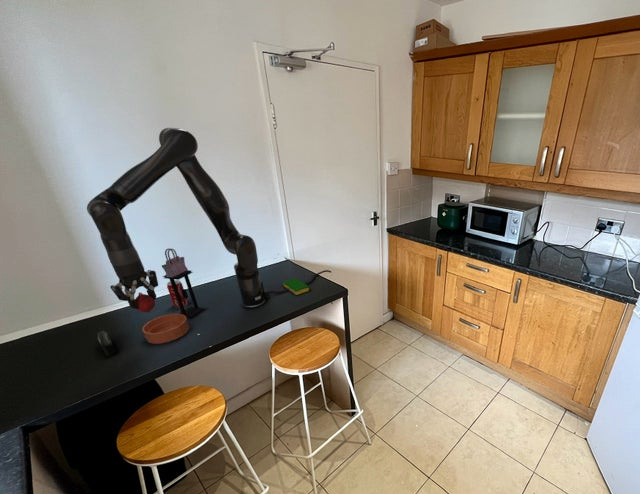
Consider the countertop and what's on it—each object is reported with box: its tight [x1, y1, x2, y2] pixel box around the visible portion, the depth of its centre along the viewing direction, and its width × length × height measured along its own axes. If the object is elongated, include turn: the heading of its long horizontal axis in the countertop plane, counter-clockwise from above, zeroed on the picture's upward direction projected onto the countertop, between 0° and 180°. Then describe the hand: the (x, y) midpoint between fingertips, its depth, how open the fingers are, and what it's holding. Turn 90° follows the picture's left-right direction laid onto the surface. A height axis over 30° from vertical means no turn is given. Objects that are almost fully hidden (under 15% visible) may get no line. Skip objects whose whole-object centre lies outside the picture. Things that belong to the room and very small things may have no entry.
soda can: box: [166, 279, 189, 309], centre depth 141 cm, size 6×6×12 cm
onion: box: [134, 292, 156, 313], centre depth 111 cm, size 6×6×8 cm
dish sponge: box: [282, 277, 310, 296], centre depth 159 cm, size 7×14×2 cm, turn 44°
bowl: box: [141, 313, 190, 345], centre depth 123 cm, size 14×14×5 cm
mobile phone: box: [97, 330, 117, 356], centre depth 115 cm, size 5×3×15 cm
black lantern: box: [161, 247, 206, 319], centre depth 131 cm, size 10×8×30 cm
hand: (144, 303), depth 112 cm, fingers closed on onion, 5 cm apart
